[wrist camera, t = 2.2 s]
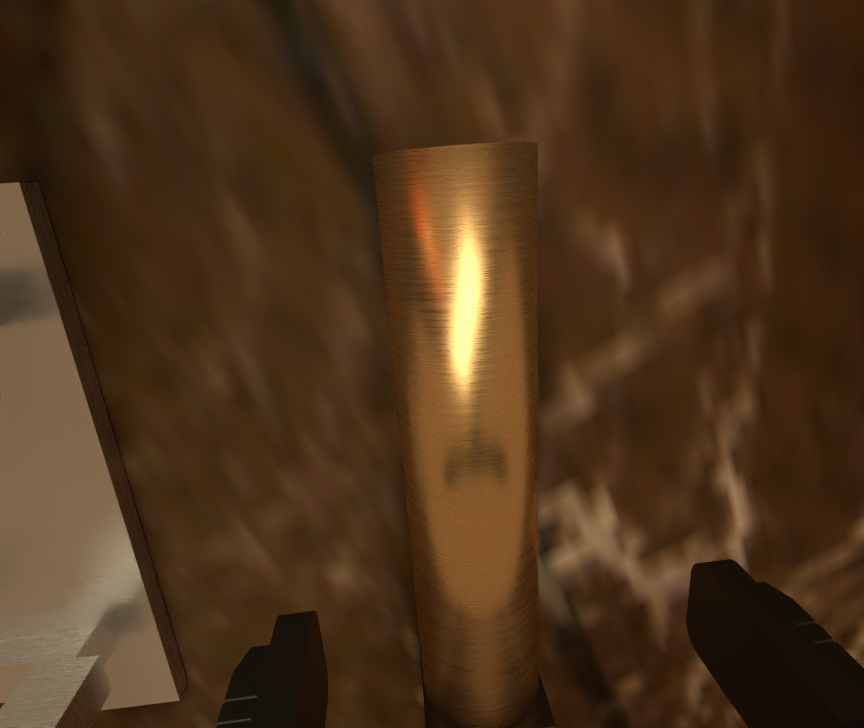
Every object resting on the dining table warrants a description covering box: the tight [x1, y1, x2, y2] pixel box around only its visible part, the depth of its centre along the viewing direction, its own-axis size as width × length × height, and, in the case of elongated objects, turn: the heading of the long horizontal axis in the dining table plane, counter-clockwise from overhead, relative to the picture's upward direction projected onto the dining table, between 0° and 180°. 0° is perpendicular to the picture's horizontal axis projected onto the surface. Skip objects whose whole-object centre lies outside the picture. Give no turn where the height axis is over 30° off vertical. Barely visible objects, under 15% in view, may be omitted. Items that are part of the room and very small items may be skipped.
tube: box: [373, 142, 556, 728], centre depth 16 cm, size 19×4×4 cm, turn 4°
